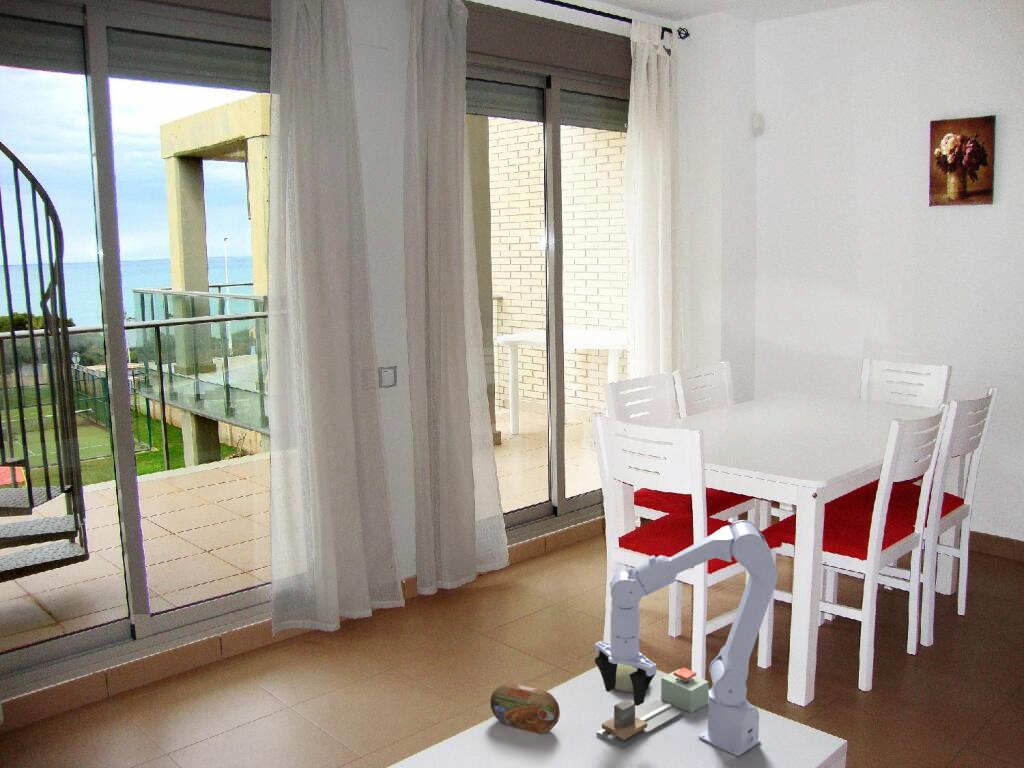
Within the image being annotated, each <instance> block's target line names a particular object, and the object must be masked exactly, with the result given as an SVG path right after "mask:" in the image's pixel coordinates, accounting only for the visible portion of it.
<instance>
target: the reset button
mask: <svg viewBox="0 0 1024 768" xmlns="http://www.w3.org/2000/svg"><path fill="white" fill-rule="evenodd" d="M677 670H678V669H677ZM675 671H676V670H675ZM673 672H674V671H673ZM674 675H675V676H677V677H678V681H680V682H682V683H684V684H688V683H690V682H692V677H694V676H697V672H695V671H693V670H691V669H688V668H686V667H682V668H680V670H678V671H676V672H674Z"/></svg>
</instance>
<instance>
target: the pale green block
mask: <svg viewBox="0 0 1024 768" xmlns="http://www.w3.org/2000/svg"><path fill="white" fill-rule="evenodd" d="M680 669H681V668H680ZM680 669H679V668H678V669H676V670H674V671H672V672H670V673H668V674H666V675H664V676H662V677H661V681H660V682H661V683H660V685H661V686H660V687H661V688H660V689H661V690H660V692H661V693H660V698H661V700H662V701H664V702H667V703H669V704H671V705H672V704H673V705H672V706H675V707H677V708H679V709H681V710H682V711H686V712H688V713H690V714H692V713H694V712H695V711H697V710H699V709H701V708H702V707H704V706H706V705H708V704H709V686H710V685H709V684H710V683H709V681H708V680H706V679H703V678H701V677H699V676H697V675H696V676H694V677H692V682H690V683H688V684H684V683H682V682H680V681H678V677H677V676H675V675H674V672H676V671H678V670H680Z"/></svg>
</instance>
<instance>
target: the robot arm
mask: <svg viewBox="0 0 1024 768" xmlns="http://www.w3.org/2000/svg"><path fill="white" fill-rule="evenodd" d="M732 557H733V558H734V559H735V561H736V562H737V563H738V564H740V565H741V566H742V567H744V568H745V569H746V571H747V573H748V574H749V577H748V579H747V582H746V586H745V588H744V590H743V594H742V597H741V599H740V602H739V605H738V608H737V610H736V613H735V617H734V619H733V622H732V625H731V628H730V631H729V633H728V637H727V640H726V642H725V645H723V646H722V647H721V648H720V649H719V650H720V651H719V653H718V654H717V656H716V657H715V658H714V659H713V660H711V663H710V665H709V669H708V672H709V675H710V678H711V682H712V686H711V688H710V689H709V690H708V704H707V707H708V708H707V709H708V710H707V713H708V714H707V715H708V716H707V730H704V731H703V732H701V733H699V734H698V738H699V739H700V740H702V741H705V742H707V743H709V744H711V745H713V746H716V747H718V748H719V749H721V750H723V751H725V752H727V753H729V754H732V755H733V756H736V757H740V756H741V755H743V754H744V753H745V752H747V751H749V750H750V749H752V748H753V747H755V746H756V745H758V744H759V743H761V739H760V737H759V731H760V730H759V728H760V727H759V725H760V713H759V710H758V708H757V707H756V706H754V705H753V704H751V703H750V702H749V701H748V700H747V693H748V689H747V680H748V677H749V665H750V658H751V655H752V652H753V649H754V647H755V644H756V640H757V639H758V638H757V637H758V635H759V633H760V629H761V626H762V624H763V621H764V618H765V615H766V612H767V610H768V607H769V604H770V601H771V598H772V595H773V593H774V590H775V587H776V584H777V581H778V578H779V577H778V576H779V574H778V571H777V568H776V564H775V561H774V557H773V555H772V550H771V548H770V547H769V545H768V543H767V541H766V539H765V536H764V534H762V532H761V530H760V529H759V528H758V526H756V524H755V523H754V522H752V521H751V520H745V519H742V520H741V519H740V520H736V521H734V522H732V524H730V525H729V524H728V525H725V526H721V527H720V529H717V530H716V531H715V532H713V533H712V534H710V535H708V536H707V537H705V538H703V539H701V540H699V541H697V542H696V543H694V544H692V545H690V546H688V547H687V548H685V549H683V550H681V551H679V552H677V553H675V554H674V555H672V556H670V557H669V556H666V555H663V554H662V555H658V556H657V557H656V556H655V555H651V556H649V557H648V561H646V562H644V563H642V564H640V565H637V566H636V567H634V568H633V567H629V568H627V570H626V571H625V570H623V571H619V572H617V573H616V574H614V575H613V577H612V578H611V582H609V583H610V584H609V586H610V596H611V597H610V598H611V602H610V604H611V605H610V606H611V610H610V642H605V641H603V640H600V641H598V642H596V643H595V644H594V653H596V654H597V655H598V656H596V657H594V664H595V665H596V666H597V667H598V670H599V672H600V675H601V678H602V681H603V685H604V687H605V692H607V693H610V692H612V691H614V690H615V689H616V688H615V686H616V671H617V665H618V664H624V665H629V666H632V667H634V668H636V669H637V671H635V672H633V673H631V674H630V678H631V681H632V685H633V692H632V693H633V703H634V705H635V707H638V706H641V705H642V704H644V702H645V699H646V695H647V692H648V689H649V686H650V685H651V682H652V680H653V679H654V677H655V676H656V674H657V664H656V663H654V662H653V661H651V660H650V659H648V658H647V657H646V656H645V655H644V654H642V653H641V652H640V638H641V637H640V626H641V625H640V620H641V619H640V614H641V613H640V609H639V604H640V602H641V600H642V598H643V597H646V596H649V595H650V594H652V593H655V592H657V591H659V590H661V589H663V588H665V587H667V586H669V585H671V584H674V583H675V581H676V578H677V576H678V575H679V574H680V573H681V572H684V571H687V570H689V569H691V568H694V567H696V566H699V565H700V564H703V563H704V564H705V562H708V561H710V560H712V559H719V560H720V561H721V560H722V561H726V562H728V563H732V562H733V560H732Z"/></svg>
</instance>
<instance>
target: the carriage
mask: <svg viewBox="0 0 1024 768" xmlns="http://www.w3.org/2000/svg"><path fill="white" fill-rule="evenodd" d="M635 711H636V705H634V702H632V701H630V700H628V699H624V700H623V701H620V702H617V704H615V705H613V717H611V719H608V720H606V721H604V722H602V723H601V729H604V730H606V731H608V732H610V733H612V734H614V735H615V736H617V737H619V738H621V739H623V740H625V739H627V738H629V737H631V736H632V735H634V734H636V733H638V732H640V731H642V730H643V729H645V728H647V722H645V721H643V720H641V719H639V718H637V717H635Z"/></svg>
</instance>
